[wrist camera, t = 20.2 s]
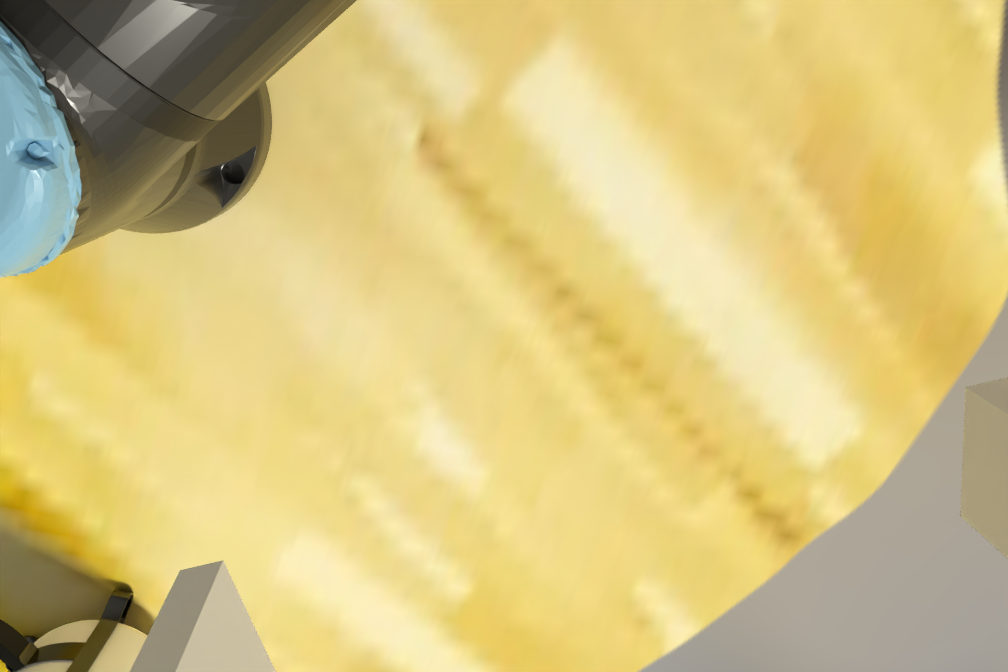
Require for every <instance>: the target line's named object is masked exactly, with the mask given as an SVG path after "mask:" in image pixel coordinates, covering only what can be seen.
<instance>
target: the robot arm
mask: <svg viewBox="0 0 1008 672" xmlns="http://www.w3.org/2000/svg"><path fill="white" fill-rule="evenodd" d="M355 1H356V0H0V278H2V277H7V276H17V275H20V274H22V273H30V272H33V271H35V270H37V269H38V268H39V267H40V266H44V265H47V264H49V263H50V262H51V261H53V260H54V259H55V258H56V257H58V256H59V255H61V254H63V253H65V252H67V251H70V250H72V249H74V248H76V247H79V246H81V245H83V244H86V243H88V242H90V241H92V240H95V239H97V238H99V237H101V236H104V235H106V234H108V233H110V232H113V231H115V230H117V229H123V230H128V231H133V232H140V233H168V232H176V231H181V230H185V229H189V228H193V227H196V226H198V225H201V224H203V223H205V222H207V221H209V220H211V219H213V218H215V217H217V216H219V215H220V214H222V213H224V212H225V211H227V210H228V209H230V208H231V207H232V206H234V205H235V204H236V203H237V202H238V201H240V200H241V199H242V198H243V197H244V195H245V194H246V193H247V192H248V191H249V190H250V188H251V187H252V186H253V184H254V183H255V181H256V180H257V178H258V176H259V174H260V172H261V170H262V168H263V166H264V163H265V160H266V157H267V154H268V150H269V145H270V140H271V129H272V116H271V105H270V99H269V94H268V90H267V86H266V83H265V82H266V81H267V80H268V79H269V78H270V77H271V76H272V75H274V74H275V73H276V72H277V71H278V70H279V69H280V68H281V67H283V66H284V65H285V64H286V63H287V62H288V61H289V60H290V59H291V58H293V57H294V56H295V55H296V54H297V53H298V52H299V51H300V50H302V49H303V48H304V47H305V46H306V45H307V44H308V43H309V42H311V41H312V40H313V39H314V38H315V37H316V36H317V35H318V34H319V33H321V32H322V31H323V30H324V29H325V28H326V27H327V26H328V25H330V24H331V23H332V22H333V21H334V20H335V19H336V18H337V17H338V16H340V15H341V14H342V13H343V12H344V11H345V10H346V9H347V8H349V7H350V6H351V5H352V4H353V3H354V2H355ZM963 438H964V439H963V462H962V463H963V464H962V488H961V511H960V516H961V517H962V518H963V519H964V520H965V521H967V522H968V523H969V524H970V525H971V526H972V527H973V528H974V529H975V530H976V531H978V532H979V533H980V534H981V535H982V536H983V537H984V538H985V539H986V540H988V541H989V542H990V543H991V544H992V545H993V546H994V547H995V548H996V549H997V550H998V551H1000V552H1001V553H1002V554H1003V555H1004V556H1005V557H1006V558H1007V559H1008V378H1003V379H998V380H994V381H990V382H986V383H982V384H977V385H973V386H969V387H966V388H965V412H964V437H963ZM130 672H276V671H275V669H274V667H273V665H272V663H271V661H270V658H269V656H268V654H267V652H266V650H265V648H264V646H263V644H262V642H261V640H260V637H259V635H258V633H257V631H256V629H255V627H254V625H253V623H252V621H251V618H250V616H249V614H248V612H247V610H246V608H245V606H244V604H243V602H242V599H241V597H240V595H239V593H238V591H237V589H236V587H235V585H234V583H233V580H232V578H231V576H230V574H229V572H228V570H227V568H226V566H225V564H224V561H219V562H214V563H210V564H206V565H202V566H197V567H193V568H189V569H184V570H180V572H179V574H178V576H177V578H176V580H175V582H174V584H173V586H172V588H171V590H170V592H169V594H168V596H167V598H166V600H165V602H164V604H163V606H162V608H161V610H160V612H159V614H158V616H157V618H156V620H155V622H154V624H153V626H152V628H151V630H150V632H149V634H148V636H147V638H146V640H145V642H144V644H143V646H142V648H141V650H140V652H139V654H138V656H137V658H136V660H135V662H134V664H133V666H132V668H131V670H130Z"/></svg>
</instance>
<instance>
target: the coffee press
mask: <svg viewBox="0 0 1008 672" xmlns="http://www.w3.org/2000/svg"><path fill="white" fill-rule="evenodd" d="M132 599H133V593H131V592H126V591H121V590H114V592H113V593H112V595H111V597H110V599H109V602H108V604H107V606H106V609H105V611H104V613H103V615H102V617H101V619H100V620H83V621H76V622H72V623H68V624H65V625H62V626H60V627H58V628H55V629H53V630H51V631H50V632H48V633H46V634H45V635H43V636H42V637H40V638H39V639H38V640H37V639H36V638H35V637H33V636H25V637H23V636H22V635H21V634H20V633H19V632H17V631H16V630H15V629H14V628H13V627H11V626H10V625H8V624H7V623H6V622H4V621H2V620H1V619H0V659H1V660H2V661H3V662H4V663H5V664H6V668H7V669H8V672H130V670H131V668H132V666H133V664H134V662H135V660H136V658H137V656H138V654H139V652H140V650H141V648H142V646H143V644H144V642H145V640H146V638H147V635H146V634H144V633H143V632H141V631H139V630H137V629H135V628H133V627H130V626H127V625H124V622H125V619H126V616H127V613H128V610H129V608H130V605H131V602H132Z"/></svg>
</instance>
